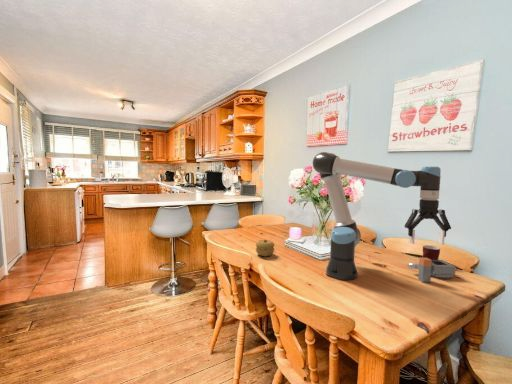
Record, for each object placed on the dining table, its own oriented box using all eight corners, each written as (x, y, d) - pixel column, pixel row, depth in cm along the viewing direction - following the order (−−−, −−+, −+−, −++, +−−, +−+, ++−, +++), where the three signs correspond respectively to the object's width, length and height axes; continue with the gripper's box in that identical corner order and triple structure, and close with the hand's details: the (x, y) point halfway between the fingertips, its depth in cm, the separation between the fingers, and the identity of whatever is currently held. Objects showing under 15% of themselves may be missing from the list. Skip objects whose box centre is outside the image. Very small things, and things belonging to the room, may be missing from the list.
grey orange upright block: (422, 282, 122) (423, 260, 121) (418, 279, 125) (419, 257, 124) (430, 282, 121) (431, 260, 121) (425, 279, 125) (427, 257, 124)
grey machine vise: (415, 278, 127) (415, 266, 126) (402, 269, 138) (403, 258, 138) (458, 279, 125) (459, 267, 125) (442, 270, 137) (442, 259, 137)
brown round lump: (273, 252, 166) (273, 237, 165) (275, 258, 154) (275, 241, 153) (255, 252, 166) (255, 237, 165) (255, 258, 154) (256, 242, 153)
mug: (432, 268, 139) (433, 251, 138) (416, 264, 146) (417, 247, 145) (441, 265, 145) (442, 248, 144) (426, 261, 151) (427, 244, 151)
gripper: (406, 199, 117) (403, 244, 119) (462, 200, 116) (459, 246, 118) (398, 198, 125) (395, 240, 127) (450, 198, 124) (447, 241, 125)
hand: (426, 243), depth 122 cm, fingers open, 13 cm apart
